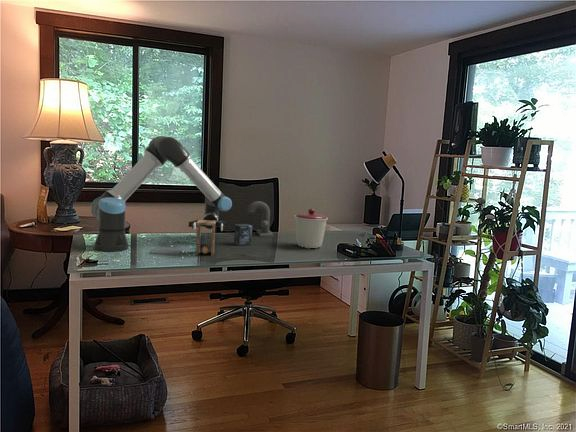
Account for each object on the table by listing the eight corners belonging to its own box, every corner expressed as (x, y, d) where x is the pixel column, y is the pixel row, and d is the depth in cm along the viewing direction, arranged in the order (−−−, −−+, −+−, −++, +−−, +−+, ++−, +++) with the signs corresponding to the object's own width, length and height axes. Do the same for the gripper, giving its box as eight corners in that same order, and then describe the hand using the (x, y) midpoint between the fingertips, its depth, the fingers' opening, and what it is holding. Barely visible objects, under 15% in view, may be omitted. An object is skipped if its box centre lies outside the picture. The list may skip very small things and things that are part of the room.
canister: (316, 243, 281) (319, 206, 279) (331, 250, 265) (334, 211, 262) (287, 243, 274) (289, 206, 272) (300, 250, 258) (303, 210, 255)
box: (238, 245, 261) (239, 225, 259) (233, 243, 265) (234, 224, 264) (251, 245, 265) (252, 225, 263) (246, 242, 270) (247, 223, 268)
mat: (150, 253, 229) (150, 252, 228) (155, 248, 241) (155, 246, 241) (179, 255, 230) (179, 253, 230) (182, 249, 243) (182, 248, 243)
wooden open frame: (195, 255, 232) (196, 222, 230) (196, 251, 240) (198, 219, 238) (213, 256, 233) (214, 223, 231) (214, 252, 241) (215, 220, 239)
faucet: (244, 231, 306) (246, 198, 303) (269, 232, 309) (271, 200, 306) (247, 236, 288) (249, 202, 286) (274, 237, 291) (276, 203, 289)
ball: (201, 254, 235) (201, 247, 234) (201, 252, 238) (201, 245, 238) (208, 254, 235) (208, 247, 235) (208, 253, 238) (209, 245, 238)
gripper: (233, 228, 268) (233, 236, 247) (186, 226, 265) (182, 234, 244) (234, 214, 266) (233, 221, 246) (186, 213, 264) (182, 219, 243)
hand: (207, 227), depth 245 cm, fingers open, 13 cm apart
